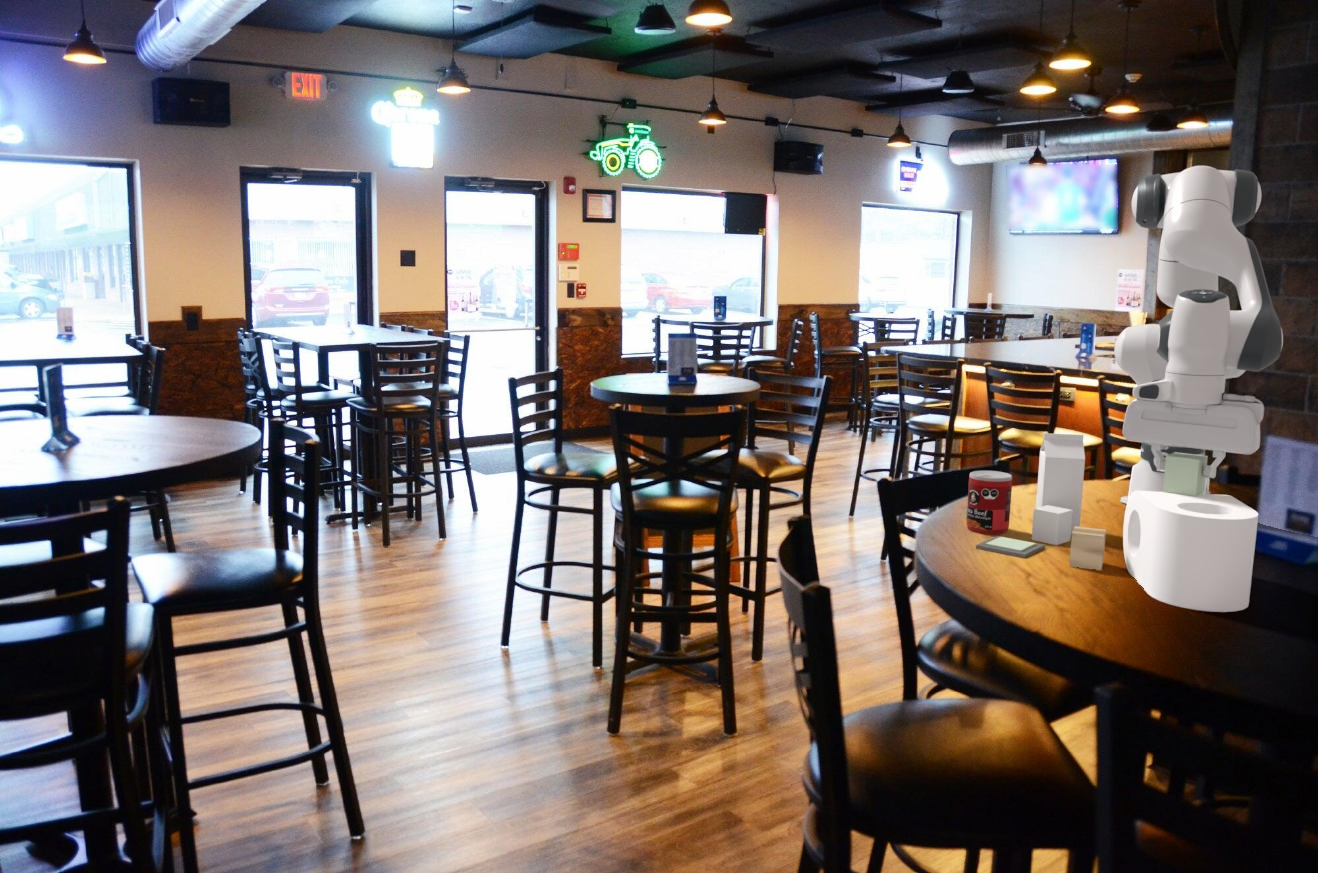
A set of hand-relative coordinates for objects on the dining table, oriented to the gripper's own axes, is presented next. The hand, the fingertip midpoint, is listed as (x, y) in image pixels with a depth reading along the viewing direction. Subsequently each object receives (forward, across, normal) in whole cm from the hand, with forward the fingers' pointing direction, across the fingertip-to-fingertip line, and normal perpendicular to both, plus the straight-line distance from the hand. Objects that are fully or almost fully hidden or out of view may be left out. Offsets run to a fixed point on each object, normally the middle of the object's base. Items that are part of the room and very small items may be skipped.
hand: (1185, 474), depth 172 cm
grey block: (+17, +24, -7) cm, 30 cm away
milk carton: (+17, +26, -15) cm, 35 cm away
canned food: (+17, +36, -6) cm, 40 cm away
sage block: (+3, 0, 0) cm, 3 cm away
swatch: (+17, +27, +4) cm, 32 cm away
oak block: (+17, +13, +5) cm, 22 cm away
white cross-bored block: (+17, -3, +6) cm, 19 cm away
